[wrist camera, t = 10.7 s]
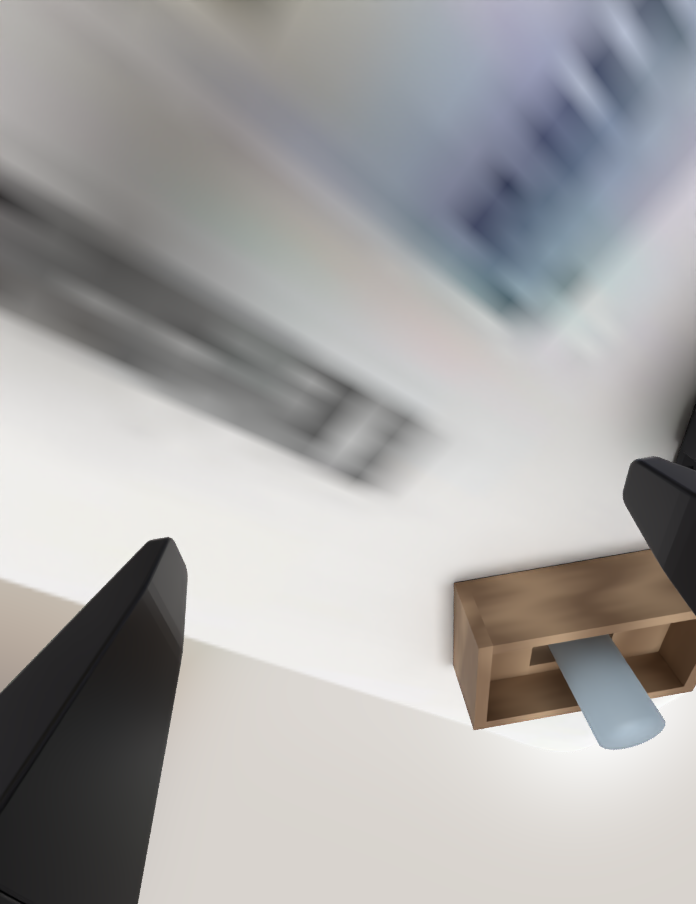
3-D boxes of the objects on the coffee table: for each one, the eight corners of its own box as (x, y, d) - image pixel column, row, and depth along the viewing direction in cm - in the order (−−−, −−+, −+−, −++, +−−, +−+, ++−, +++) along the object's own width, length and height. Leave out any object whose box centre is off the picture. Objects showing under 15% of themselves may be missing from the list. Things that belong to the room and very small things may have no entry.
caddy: (682, 543, 29) (740, 602, 26) (648, 631, 34) (692, 691, 31) (453, 583, 29) (478, 648, 25) (453, 665, 34) (473, 730, 30)
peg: (590, 587, 31) (673, 710, 24) (581, 620, 33) (655, 742, 26) (536, 596, 31) (605, 722, 24) (530, 629, 33) (593, 754, 26)
